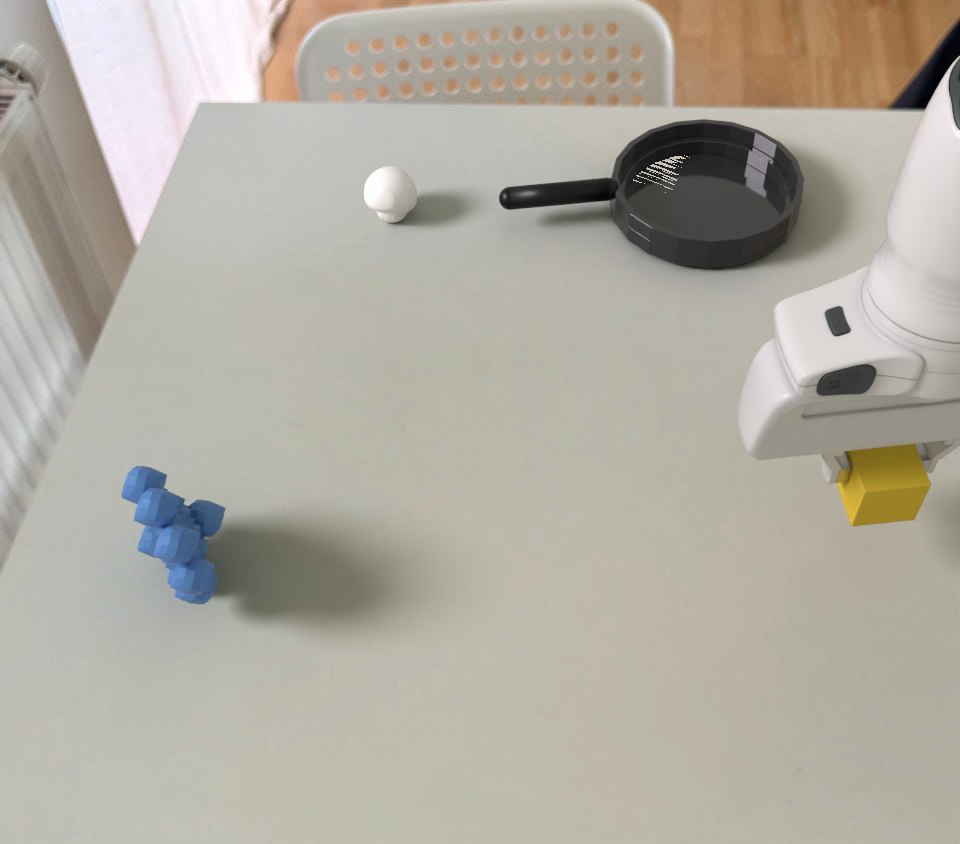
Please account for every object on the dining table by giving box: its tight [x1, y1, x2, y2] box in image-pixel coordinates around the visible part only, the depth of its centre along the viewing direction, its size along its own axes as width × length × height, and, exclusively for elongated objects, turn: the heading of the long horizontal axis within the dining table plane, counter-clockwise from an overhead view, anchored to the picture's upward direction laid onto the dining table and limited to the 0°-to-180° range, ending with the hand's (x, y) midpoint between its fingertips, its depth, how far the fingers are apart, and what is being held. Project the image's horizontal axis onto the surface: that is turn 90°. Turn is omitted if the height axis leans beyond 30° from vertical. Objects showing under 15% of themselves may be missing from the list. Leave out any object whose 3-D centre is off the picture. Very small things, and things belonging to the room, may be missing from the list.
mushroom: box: [363, 165, 418, 224], centre depth 103 cm, size 5×5×5 cm
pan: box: [609, 118, 805, 269], centre depth 102 cm, size 17×17×4 cm
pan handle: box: [498, 177, 619, 211], centre depth 101 cm, size 11×2×2 cm, turn 95°
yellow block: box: [836, 444, 932, 528], centre depth 75 cm, size 4×6×4 cm
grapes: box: [121, 465, 226, 605], centre depth 78 cm, size 12×7×12 cm, turn 31°
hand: (875, 471), depth 76 cm, fingers closed on yellow block, 4 cm apart
